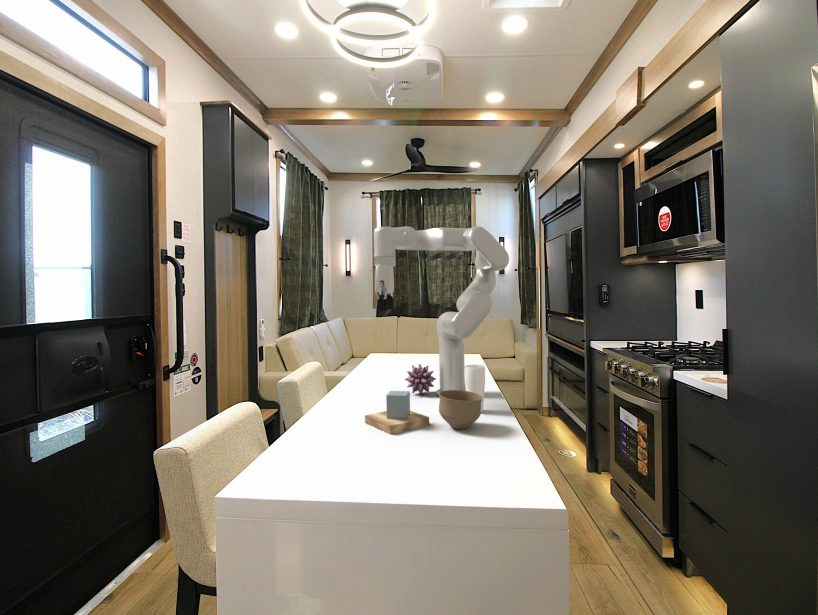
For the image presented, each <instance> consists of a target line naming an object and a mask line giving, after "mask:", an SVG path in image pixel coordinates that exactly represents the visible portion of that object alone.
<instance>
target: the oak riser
mask: <svg viewBox="0 0 818 615" xmlns="http://www.w3.org/2000/svg"><path fill="white" fill-rule="evenodd" d="M365 423H366V425H368V426H370V427H372V426H373V427H372V428H374V427H375V429H377V430H379V431H381V432H383V431H384V433H386V434H388V435H390V434H391V435H395V434H398V433H402V432H406V431H411V430H414V429H418V428H423V427H426V426H427V427H428V426H430V417H429V416H427V415H424V414H421V413H418V412H415V411H413V410H410V415H409V416H408V418H407V419H387V410H386V411H381V412H376V413H370V414H366V415H364V424H365Z"/></svg>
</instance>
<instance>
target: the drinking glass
mask: <svg viewBox="0 0 818 615" xmlns="http://www.w3.org/2000/svg"><path fill="white" fill-rule="evenodd" d="M464 379H465V389H466V391H469V392H474V393H477V394H479V395H481V396H482V401H481V413H483V411H484V401H485V387H486V366H485V365H482V364H467V365H464Z"/></svg>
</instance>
